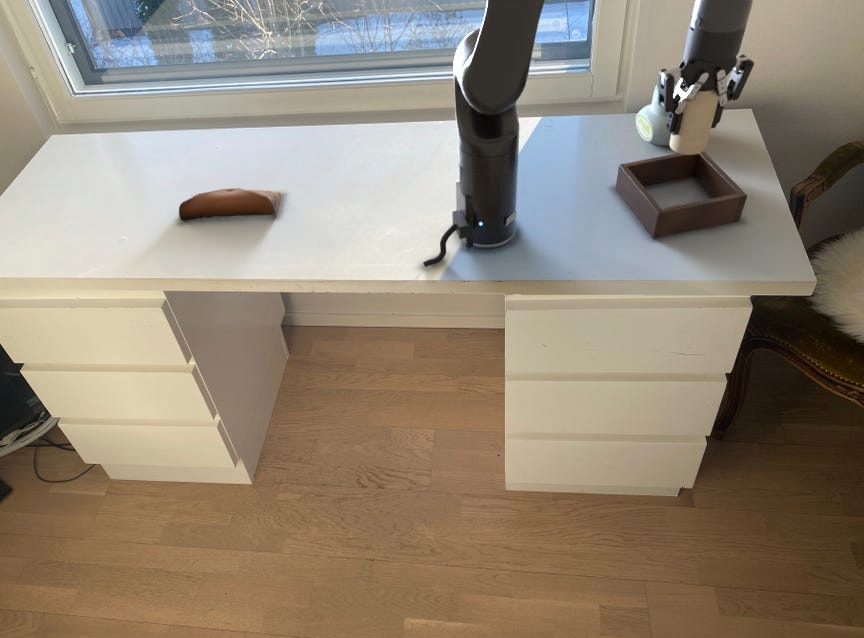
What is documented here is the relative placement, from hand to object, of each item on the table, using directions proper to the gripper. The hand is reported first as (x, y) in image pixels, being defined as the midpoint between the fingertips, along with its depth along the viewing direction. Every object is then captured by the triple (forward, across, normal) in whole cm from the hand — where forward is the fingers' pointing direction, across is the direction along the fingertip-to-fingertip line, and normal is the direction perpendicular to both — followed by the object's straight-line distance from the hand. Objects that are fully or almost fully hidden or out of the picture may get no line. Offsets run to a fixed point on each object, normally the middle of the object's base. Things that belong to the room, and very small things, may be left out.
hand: (691, 128), depth 113 cm
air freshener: (+14, -8, -20) cm, 26 cm away
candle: (+3, 0, 0) cm, 3 cm away
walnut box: (+14, 0, 0) cm, 14 cm away
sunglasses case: (+15, +75, -24) cm, 80 cm away
